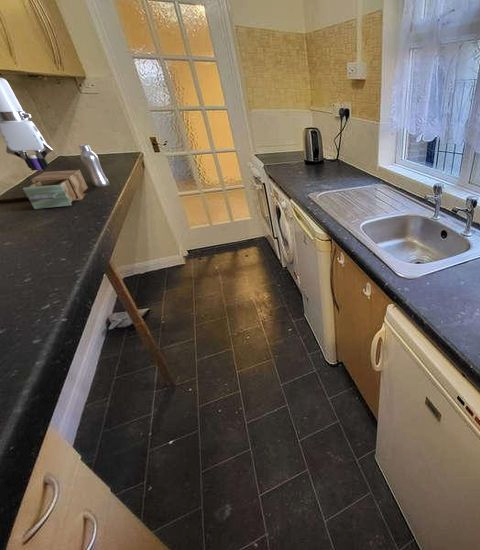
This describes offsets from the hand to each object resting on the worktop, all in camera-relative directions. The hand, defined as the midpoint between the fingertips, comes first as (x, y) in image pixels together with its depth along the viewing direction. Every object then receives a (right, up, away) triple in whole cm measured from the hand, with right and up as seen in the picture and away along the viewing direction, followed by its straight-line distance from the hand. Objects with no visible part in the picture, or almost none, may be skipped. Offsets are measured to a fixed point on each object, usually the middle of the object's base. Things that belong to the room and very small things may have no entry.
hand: (40, 169), depth 117 cm
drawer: (0, -13, +6) cm, 14 cm away
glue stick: (0, 0, 0) cm, 0 cm away
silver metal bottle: (-1, +1, +30) cm, 30 cm away
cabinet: (-6, -7, +17) cm, 19 cm away
